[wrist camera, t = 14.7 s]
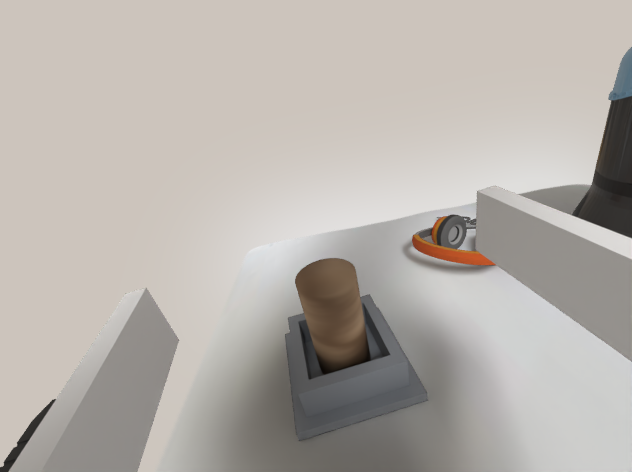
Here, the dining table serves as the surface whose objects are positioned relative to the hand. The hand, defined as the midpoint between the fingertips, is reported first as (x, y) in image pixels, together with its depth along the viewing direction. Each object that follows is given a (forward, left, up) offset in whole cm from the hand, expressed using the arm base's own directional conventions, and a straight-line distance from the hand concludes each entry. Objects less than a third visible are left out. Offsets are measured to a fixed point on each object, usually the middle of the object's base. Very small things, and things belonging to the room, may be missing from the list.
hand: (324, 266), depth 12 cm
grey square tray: (-1, -10, -18) cm, 21 cm away
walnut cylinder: (-1, -10, -17) cm, 20 cm away
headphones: (-23, -23, -19) cm, 37 cm away
